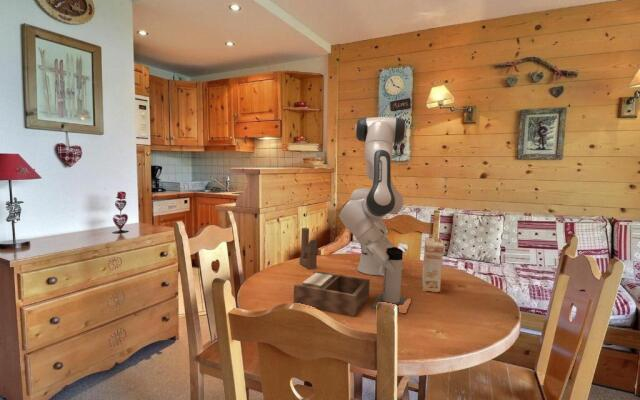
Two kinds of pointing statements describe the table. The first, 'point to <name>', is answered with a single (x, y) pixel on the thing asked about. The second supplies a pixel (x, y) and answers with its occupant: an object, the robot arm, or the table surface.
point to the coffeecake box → (432, 264)
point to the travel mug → (393, 277)
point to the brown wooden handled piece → (308, 250)
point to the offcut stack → (318, 280)
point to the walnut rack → (335, 294)
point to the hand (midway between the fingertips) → (396, 268)
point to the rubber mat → (379, 299)
